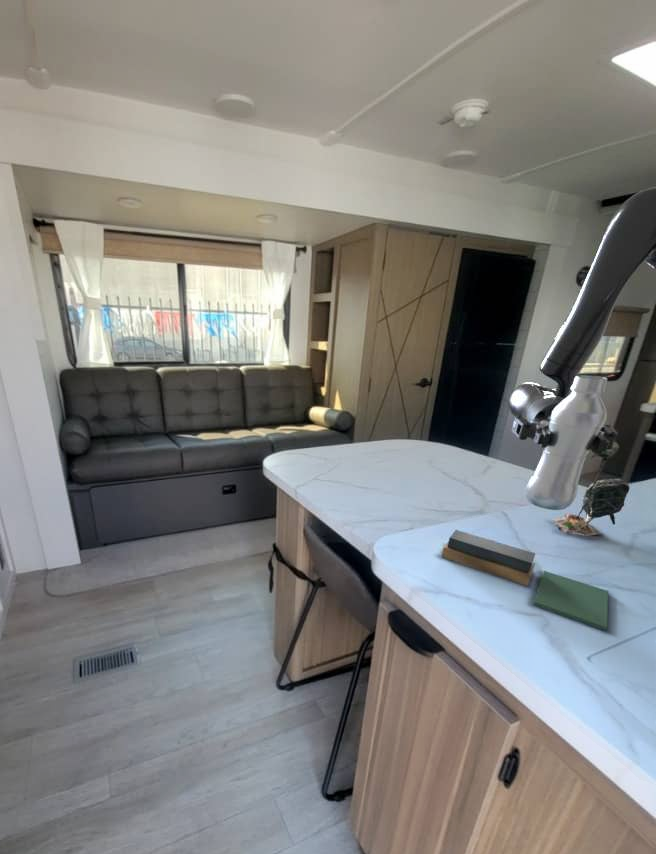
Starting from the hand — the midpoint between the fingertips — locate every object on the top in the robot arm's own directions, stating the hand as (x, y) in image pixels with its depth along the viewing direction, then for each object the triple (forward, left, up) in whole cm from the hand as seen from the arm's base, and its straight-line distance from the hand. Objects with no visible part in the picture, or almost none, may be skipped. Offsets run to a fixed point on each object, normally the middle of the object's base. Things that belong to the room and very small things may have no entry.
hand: (573, 444), depth 58 cm
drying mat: (-7, +2, -23) cm, 24 cm away
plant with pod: (-6, -28, -24) cm, 37 cm away
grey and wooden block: (+6, 0, -23) cm, 24 cm away
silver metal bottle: (+1, -2, -11) cm, 11 cm away
